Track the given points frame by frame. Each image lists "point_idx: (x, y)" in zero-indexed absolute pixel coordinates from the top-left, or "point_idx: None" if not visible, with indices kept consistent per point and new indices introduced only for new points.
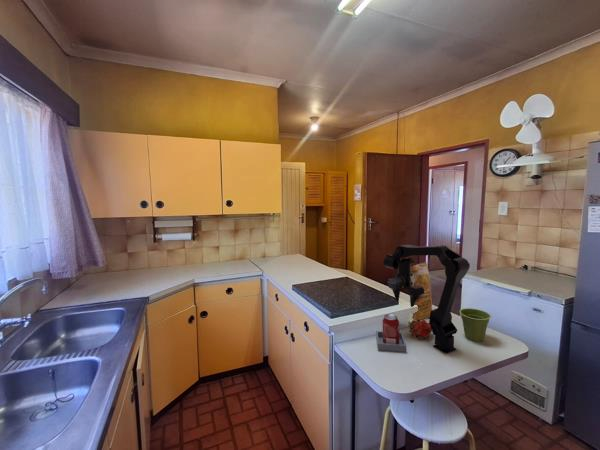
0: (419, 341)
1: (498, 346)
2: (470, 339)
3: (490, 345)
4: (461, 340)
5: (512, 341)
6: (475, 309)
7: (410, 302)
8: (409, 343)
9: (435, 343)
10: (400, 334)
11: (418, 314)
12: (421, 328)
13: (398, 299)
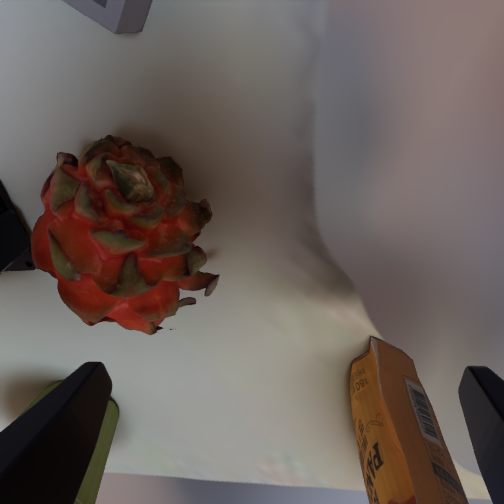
0: (82, 150)
1: (3, 411)
2: (59, 383)
3: (11, 399)
4: (65, 352)
5: None
6: None
7: (32, 432)
8: (60, 44)
9: (2, 211)
10: (113, 5)
11: (366, 391)
12: (43, 221)
13: (464, 411)
